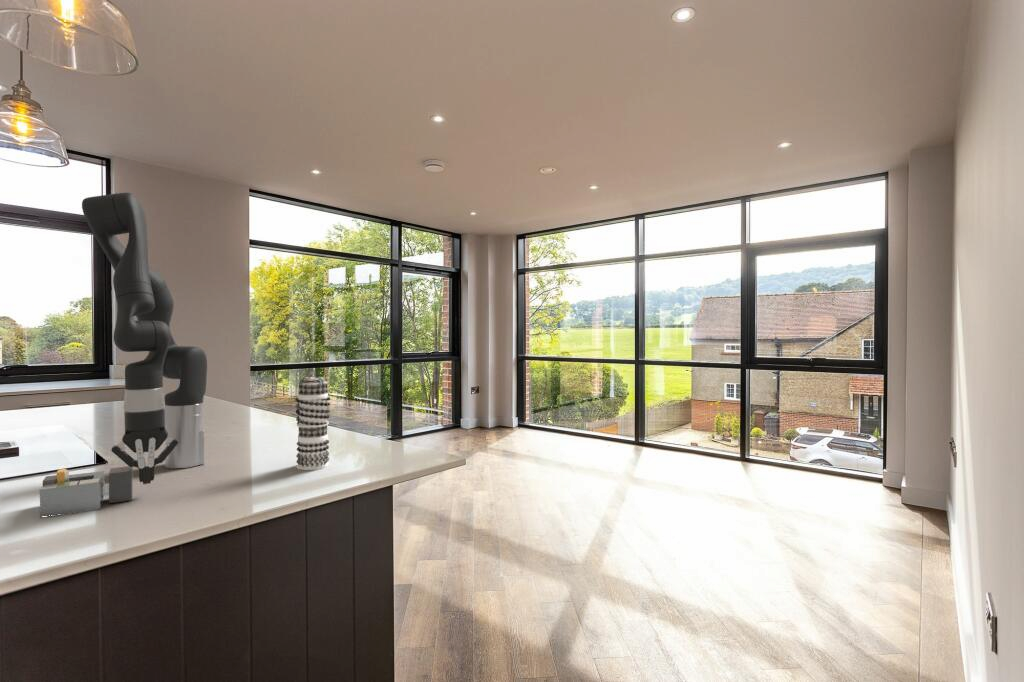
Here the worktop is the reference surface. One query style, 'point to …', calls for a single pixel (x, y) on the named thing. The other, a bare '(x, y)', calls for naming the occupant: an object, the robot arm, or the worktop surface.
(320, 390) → the decorative candle
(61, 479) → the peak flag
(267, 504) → the worktop surface
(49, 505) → the gauge housing
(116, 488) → the dark cube on shaft
